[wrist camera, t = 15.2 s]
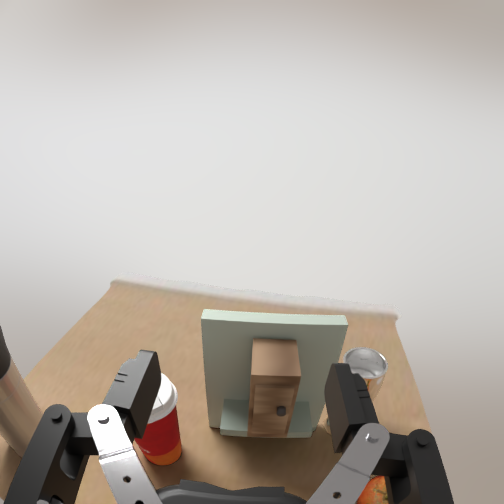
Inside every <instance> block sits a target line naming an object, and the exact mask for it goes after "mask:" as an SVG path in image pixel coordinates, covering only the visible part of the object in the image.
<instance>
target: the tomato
mask: <svg viewBox="0 0 504 504" xmlns="http://www.w3.org/2000/svg"><path fill="white" fill-rule="evenodd" d="M357 502H358V503H357V504H389V503H388V497H387V491H386V485H385V479H384V476H376V477H374V478H372V479H370V481H369V482H368V483H367V485H366V486H365V488H364V490H363V491H362V493H361V494H360V496H359V498H358V499H357Z"/></svg>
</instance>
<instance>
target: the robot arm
mask: <svg viewBox="0 0 504 504" xmlns="http://www.w3.org/2000/svg"><path fill="white" fill-rule="evenodd" d="M160 386H161V371H160V366H159V360H158V355H157V352H154V351H147V350H140V351H139V353H138V355H137V357H136V359H130V358H129V359H128V360H127V361H126V362H125V363H124V364H122V366H121V367H120V369H119V371H118V375H116V377H115V380H114V381H113V383H112V385H111V387H110V389H109V391H108V393H107V395H106V397H105V399H104V401H103V403H102V405H98V406H96V407H94V408H92V409H91V410H90V412H88V413H71V412H70V410H69V409H68V408H67V407H66V406H64V405H61V404H55V405H52V406H50V407H49V408H47V409H46V411H45V412H44V414H43V413H42V411H41V409H40V408H39V406H38V405H37V403H36V401H35V400H34V398H33V396H32V395H31V393H30V391H29V389H28V388H27V386H26V384H25V382H24V380H23V379H22V377H21V375H20V373H19V371H18V369H17V367H16V365H15V363H14V362H13V359H12V357H11V355H10V353H9V351H8V349H7V346H6V344H5V340H4V336H3V333H2V329H1V326H0V434H1V435H2V437H3V438H4V439H5V440H6V442H7V443H8V444H9V445H10V446H11V447H12V448H13V450H14V451H15V452H16V453H17V454H18V455H19V456H20V457H21V458H22V460H21V462H20V464H19V467H18V469H17V471H16V474H15V476H14V478H13V481H12V483H11V486H10V488H9V491H8V493H7V496H6V499H5V501H4V504H75V500H76V497H77V493H78V490H79V487H80V484H81V480H82V477H83V474H84V471H85V468H86V465H87V462H88V459H89V456H90V455H99V456H100V457H99V461H100V464H101V467H102V469H103V472H104V474H105V477H106V479H107V482H108V484H109V486H110V488H111V491H112V493H113V495H114V497H115V499H116V502H117V504H355V502H356V501H357V499H358V498H359V496H360V494H361V493H362V491H363V490H364V488H365V486H366V485H367V483H368V481H369V479H370V475H379V476H384V479H385V485H386V491H387V497H388V503H389V504H454V502H453V498H452V494H451V490H450V487H449V483H448V479H447V476H446V473H445V469H444V466H443V463H442V459H441V456H440V453H439V450H438V447H437V444H436V441H435V438H434V436H433V435H432V434H431V433H430V432H428V431H426V430H423V429H417V430H414V431H412V432H411V433H410V434H409V435H408V436H406V435H398V434H392V433H389V432H388V430H387V429H386V428H385V427H384V426H382V425H380V424H379V422H378V419H377V416H376V412H375V409H374V406H373V403H372V400H371V398H370V394H369V391H368V388H367V385H366V382H365V380H364V379H363V378H362V377H361V376H360V375H359V373H353V374H352V372H351V369H350V366H349V364H348V363H332V364H331V367H330V370H329V374H328V377H327V381H326V384H325V389H324V397H325V402H326V408H327V413H328V419H329V424H330V430H331V436H332V442H333V448H334V453H340V452H342V457H341V459H340V460H339V461H338V462H337V464H336V465H335V466H334V468H333V469H332V470H331V472H330V473H329V474H328V476H327V477H326V478H325V480H324V481H323V482H322V484H321V485H320V486H319V488H318V489H317V490H316V491H315V493H314V494H313V495H312V496H311V498H310V499H309V500H308V501H305V500H304V499H302V498H300V497H298V496H296V495H293V494H290V493H285V492H284V487H254V488H248V489H241V490H234V491H231V490H227V489H224V488H220V487H217V486H214V485H211V484H208V483H205V482H197V481H190V480H184V479H181V480H180V485H171V486H167V487H163V488H161V489H158V490H156V489H155V487H154V485H153V484H152V482H151V480H150V478H149V477H148V475H147V473H146V471H145V469H144V467H143V465H142V463H141V461H140V459H139V457H138V455H137V453H136V451H135V449H134V447H133V445H132V444H133V441H134V438H138V439H142V438H143V435H144V432H145V429H146V426H147V423H148V420H149V418H150V415H151V412H152V409H153V406H154V403H155V400H156V397H157V394H158V392H159V389H160Z"/></svg>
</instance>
